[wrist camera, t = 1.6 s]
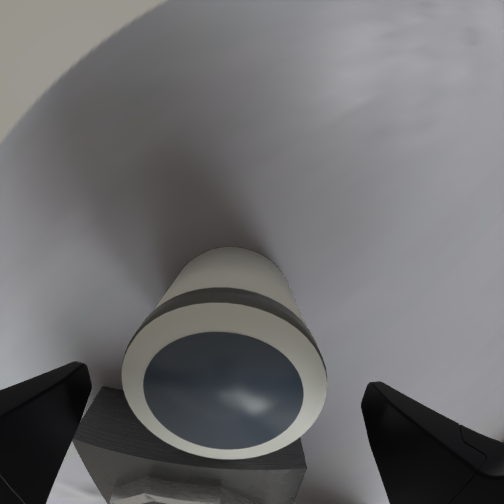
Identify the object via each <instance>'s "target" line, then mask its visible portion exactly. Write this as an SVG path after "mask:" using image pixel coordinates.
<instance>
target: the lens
mask: <svg viewBox="0 0 504 504" xmlns="http://www.w3.org/2000/svg"><path fill="white" fill-rule="evenodd" d="M121 378H122V386H123V390H124V394H125V397H126V399H127V401H128V404H129V406H130V408H131V409H132V411H133V412H134V414H135V415H136V417H137V418H138V419H139V420H140V422H141V423H142V424H143V425H144V426H145V427H146V428H147V429H148V430H149V431H151V432H152V433H153V434H154V435H156V436H157V437H158V438H160V439H161V440H163V441H165V442H166V443H168V444H170V445H172V446H174V447H176V448H178V449H180V450H183V451H185V452H188V453H191V454H195V455H198V456H203V457H208V458H215V459H246V458H252V457H257V456H261V455H265V454H268V453H271V452H274V451H277V450H279V449H281V448H283V447H285V446H287V445H289V444H290V443H292V442H294V441H295V440H297V439H298V438H299V437H300V436H302V435H303V434H304V433H305V432H306V431H307V430H308V429H309V428H310V427H311V426H312V425H313V423H314V422H315V421H316V419H317V418H318V416H319V414H320V412H321V411H322V408H323V406H324V403H325V399H326V394H327V373H326V367H325V364H324V361H323V358H322V356H321V354H320V351H319V349H318V347H317V345H316V342H315V340H314V338H313V336H312V335H311V333H310V331H309V329H308V328H307V326H306V324H305V321H304V319H303V317H302V315H301V312H300V310H299V308H298V306H297V303H296V301H295V299H294V297H293V294H292V292H291V290H290V288H289V285H288V283H287V281H286V279H285V277H284V276H283V274H282V273H281V271H280V270H279V269H278V268H277V267H276V266H275V265H274V264H273V263H272V262H271V261H270V260H269V259H267V258H266V257H264V256H262V255H261V254H259V253H256V252H254V251H252V250H248V249H244V248H238V247H222V248H216V249H212V250H209V251H207V252H204V253H202V254H200V255H198V256H197V257H195V258H194V259H193V260H191V261H190V262H189V263H188V264H187V265H186V266H185V267H184V268H183V269H182V271H181V272H180V274H179V275H178V276H177V278H176V279H175V281H174V282H173V283H172V285H171V286H170V288H169V289H168V290H167V292H166V293H165V295H164V296H163V298H162V299H161V300H160V302H159V303H158V305H157V306H156V308H155V309H154V310H153V312H152V313H151V314H150V315H149V316H148V317H147V318H146V319H145V321H144V322H143V323H142V325H141V326H140V328H139V329H138V331H137V332H136V334H135V335H134V337H133V338H132V340H131V341H130V343H129V345H128V347H127V349H126V352H125V355H124V359H123V365H122V376H121Z"/></svg>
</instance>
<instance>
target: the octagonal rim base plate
mask: <svg viewBox="0 0 504 504" xmlns="http://www.w3.org/2000/svg"><path fill="white" fill-rule="evenodd" d="M72 441H73V443H74V445H75V447H76V449H77V451H78V453H79V455H80V457H81V459H82V461H83V463H84V465H85V467H86V469H87V470H88V472H89V474H90V476H91V477H92V479H93V481H94V483H95V484H96V486H97V488H98V489H99V491H100V492H101V494H102V496H103V497H104V499H105V500H106V502H107V503H108V504H293V501H294V499H295V497H296V494H297V492H298V489H299V487H300V485H301V482H302V480H303V477H304V474H305V472H306V469H307V467H306V462H305V457H304V453H303V448H302V444H301V439H300V437H299V438H298V439H297V440H295V441H294V442H292V443H290V444H289V445H287V446H285V447H283V448H281V449H279V450H277V451H274V452H271V453H268V454H265V455H261V456H257V457H252V458H246V459H215V458H208V457H203V456H198V455H195V454H191V453H188V452H185V451H183V450H180V449H178V448H176V447H174V446H172V445H170V444H168V443H166V442H165V441H163V440H161V439H160V438H158V437H157V436H156V435H154V434H153V433H152V432H151V431H149V430H148V429H147V428H146V427H145V426H144V425H143V424H142V423H141V422H140V420H139V419H138V418H137V417H136V415H135V414H134V412H133V411H132V409H131V408H130V406H129V404H128V401H127V399H126V397H125V394H124V391H121V390H116V389H111V388H107V387H102V388H101V390H100V391H99V393H98V394H97V396H96V398H95V399H94V401H93V402H92V404H91V406H90V407H89V409H88V411H87V412H86V414H85V415H84V417H83V419H82V420H81V422H80V424H79V426H78V428H77V431H76V433H75V435H74V437H73V439H72Z"/></svg>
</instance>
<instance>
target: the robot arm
mask: <svg viewBox="0 0 504 504" xmlns="http://www.w3.org/2000/svg"><path fill="white" fill-rule="evenodd" d="M91 388H92V384H91V380H90V376H89V372H88V368H87V366H86V364H84V363H81V362H76V361H74V362H72V363H69V364H67V365H64V366H62V367H59V368H57V369H54V370H52V371H49V372H47V373H44V374H42V375H39V376H36V377H34V378H31V379H29V380H26V381H24V382H21V383H18V384H16V385H13V386H10V387H8V388H5V389H2V390H0V504H46V502H47V499H48V496H49V494H50V491H51V489H52V486H53V484H54V481H55V479H56V476H57V474H58V471H59V469H60V467H61V464H62V462H63V460H64V457H65V455H66V453H67V450H68V448H69V446H70V444H71V441H72V439H73V437H74V435H75V433H76V431H77V428H78V426H79V424H80V421H81V418H82V415H83V412H84V409H85V406H86V403H87V400H88V397H89V395H90V392H91ZM361 409H362V413H363V417H364V421H365V426H366V430H367V435H368V439H369V443H370V446H371V450H372V452H373V455H374V458H375V461H376V464H377V467H378V470H379V472H380V475H381V478H382V481H383V484H384V487H385V490H386V493H387V496H388V499H389V503H390V504H504V443H502V442H500V441H497V440H494V439H492V438H489V437H486V436H484V435H482V434H479V433H477V432H475V431H473V430H471V429H468V428H467V427H465V426H463V425H459V423H457V422H455V421H453V420H451V419H449V418H447V417H445V416H443V415H441V414H439V413H437V412H435V411H434V410H432V409H430V408H428V407H426V406H424V405H422V404H421V403H419V402H417V401H415V400H413V399H411V398H409V397H408V396H406V395H404V394H402V393H400V392H399V391H397V390H395V389H393V388H392V387H390V386H388V385H386V384H384V383H383V382H380V381H378V382H370V383H369V384H368V385H367V387H366V390H365V393H364V396H363V399H362V402H361Z"/></svg>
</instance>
